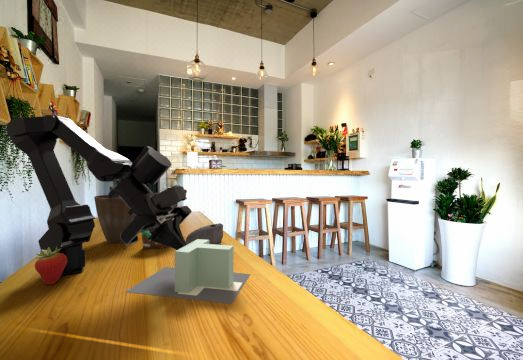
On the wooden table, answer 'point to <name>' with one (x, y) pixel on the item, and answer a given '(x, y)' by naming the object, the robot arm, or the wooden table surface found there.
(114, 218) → the plant pot
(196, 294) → the mat
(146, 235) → the food container
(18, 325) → the wooden table surface
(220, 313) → the wooden table surface
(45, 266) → the fruit
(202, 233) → the perforated stone tool
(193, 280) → the t block
